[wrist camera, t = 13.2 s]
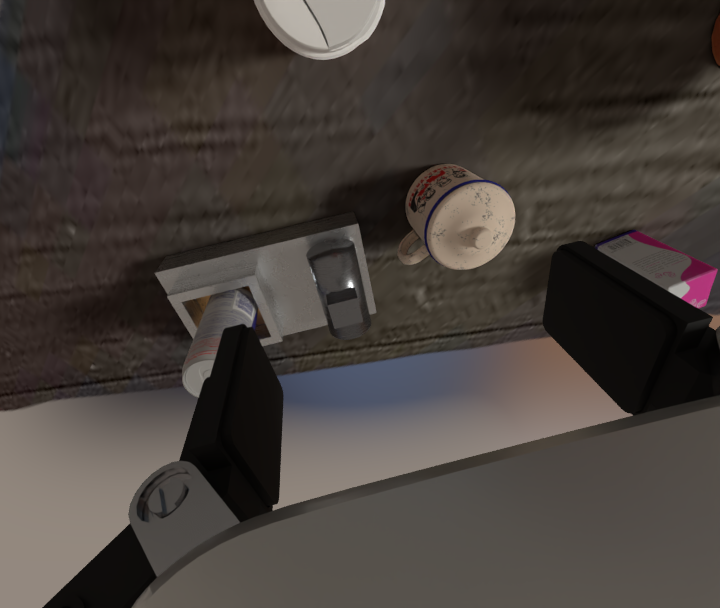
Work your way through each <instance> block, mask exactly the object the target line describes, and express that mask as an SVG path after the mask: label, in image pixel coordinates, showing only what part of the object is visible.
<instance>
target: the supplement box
mask: <svg viewBox="0 0 720 608" xmlns="http://www.w3.org/2000/svg"><path fill="white" fill-rule="evenodd" d="M595 249H597V250H599V251H600V252H602V253H604V254H606V255H607V256H609V257H611V258H612V259H614V260H616V261H618V262H619V263H621V264H623V265H624V266H626V267H628V268H630V269H631V270H633V271H635V272H636V273H638V274H640V275H642V276H643V277H645V278H647V279H648V280H650V281H652V282H654V283H655V284H657V285H659V286H660V287H662V288H664V289H666V290H667V291H669V292H671V293H672V294H674V295H676V296H678V297H679V298H681V299H683V300H684V301H686V302H688V303H690V304H691V305H693V306H695V307H696V308H700V307H703V306H705V305H706V303H707V300H708V297H709V293H710V290H711V287H712V284H713V281H714V279H715V276H716V273H717V269H716V268H714V267H712V266H710V265H708V264H705V263H703V262H701V261H699V260H697V259H695V258H693V257H691V256H688V255H686V254H684V253H682V252H680V251H678V250H676V249H674V248H672V247H670V246H668V245H665V244H663V243H661V242H659V241H657V240H655V239H653V238H651V237H649V236H646V235H644V234H642V233H640V232H638V231H636V230H632V231H629V232H627V233H624V234H622V235H619V236H617V237H614V238H611V239H609V240H606V241H604V242H601V243H599V244H596V245H595Z"/></svg>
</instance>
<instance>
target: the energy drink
mask: <svg viewBox="0 0 720 608" xmlns="http://www.w3.org/2000/svg"><path fill="white" fill-rule="evenodd" d="M257 314H258V306H257V304H256V301H255V299H254V297H253V295H252V293H251V292H249V291H248V290H246V289H244V288H242V287H241V288H237V289H233V290H229V291H225V292H221V293H217V294H212V295H211V296H210V298H209V301H208V303H207V306H206V308H205V311H204V314H203V316H202V319H201V321H200V324H199V326H198V329H197V332H196V334H195V337H194V339H193V342H192V345H191V347H190V350H189V352H188V355H187V357H186V360H185V363H184V365H183V369H182V375H183V377H182V382H183V385H184V387H185V388H186V390H187V391H188V392H189V393H190V394H192V395H193V396H195V397H197V398H199V395H200V392H201V388H202V385H203V382H204V380H205V379H206V378H207V377H210V374H211V371H212V368H213V364H214V361H215V357H216V354H217V350H218V347H219V343H220V340H221V336H222V333H223V330H224V329H225V328H227V327H231V326H236V325H240V324H245V325H246V326H247V327H253V328H254V330H255V326H256V320H257Z"/></svg>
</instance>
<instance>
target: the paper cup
mask: <svg viewBox="0 0 720 608" xmlns="http://www.w3.org/2000/svg"><path fill="white" fill-rule="evenodd" d="M254 2H255V5H256V7H257V9H258V11H259V13H260V15H261V17H262V19H263V20H264V22H265V23H266V25H267V27H268V28H269V29H270V30H271V32H272V33H273V34H274V35H275V37H276V38H278V39H279V40H280V41H281V42H282V43H283V44H284V45H285V46H287V47H288V48H289V49H291V50H292V51H294V52H296V53H298V54H300V55H302V56H305V57H308V58H312V59H320V60H326V59H334V58H337V57H340V56H343V55H345V54H347V53H349V52H351V51H352V50H353V49H355V48H356V47H357V46H358V45H360V44H361V43H363V42H364V41H365V40H367V39H368V38H369V37H370V36H371V34H372V33H373V31H374V30H375V28H376V26H377V24H378V22H379V20H380V18H381V15H382V12H383V9H384V6H385V0H254Z"/></svg>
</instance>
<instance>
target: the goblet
mask: <svg viewBox="0 0 720 608" xmlns="http://www.w3.org/2000/svg"><path fill="white" fill-rule="evenodd" d="M711 40H712V52H713V55H714V58H715V60H716V63H717V64H718V65H719V66H720V14H719V16H718V18H717V20H716V22H715V26H714V29H713V33H712V37H711Z"/></svg>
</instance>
